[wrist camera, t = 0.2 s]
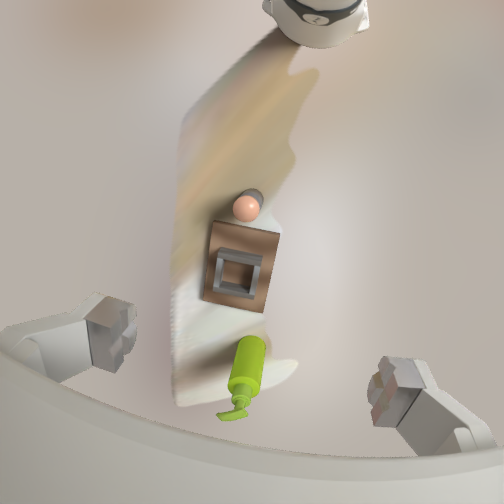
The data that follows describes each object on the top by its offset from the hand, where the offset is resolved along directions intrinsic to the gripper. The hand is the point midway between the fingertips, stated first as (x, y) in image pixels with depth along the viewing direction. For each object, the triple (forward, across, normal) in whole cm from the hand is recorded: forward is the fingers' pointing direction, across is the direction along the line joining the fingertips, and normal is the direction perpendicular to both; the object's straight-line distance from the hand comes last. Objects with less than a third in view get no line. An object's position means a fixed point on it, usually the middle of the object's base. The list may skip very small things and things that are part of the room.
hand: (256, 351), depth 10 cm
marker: (+47, +5, +5) cm, 48 cm away
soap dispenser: (+47, 0, +36) cm, 59 cm away
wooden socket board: (+47, +5, +18) cm, 51 cm away
